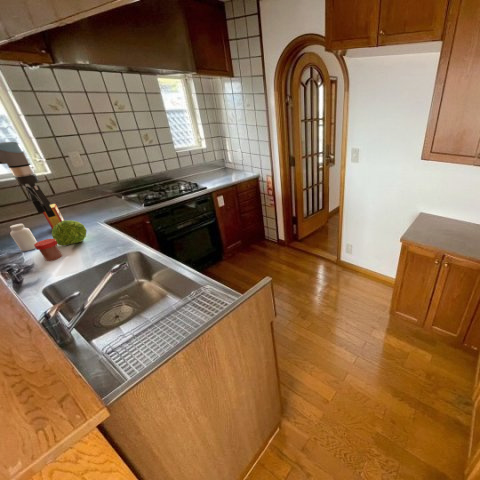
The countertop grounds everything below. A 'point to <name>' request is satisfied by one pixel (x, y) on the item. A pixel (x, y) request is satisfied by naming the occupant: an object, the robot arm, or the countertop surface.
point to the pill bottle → (23, 237)
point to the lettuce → (68, 232)
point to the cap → (45, 244)
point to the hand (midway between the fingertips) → (46, 214)
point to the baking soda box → (56, 218)
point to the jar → (51, 253)
